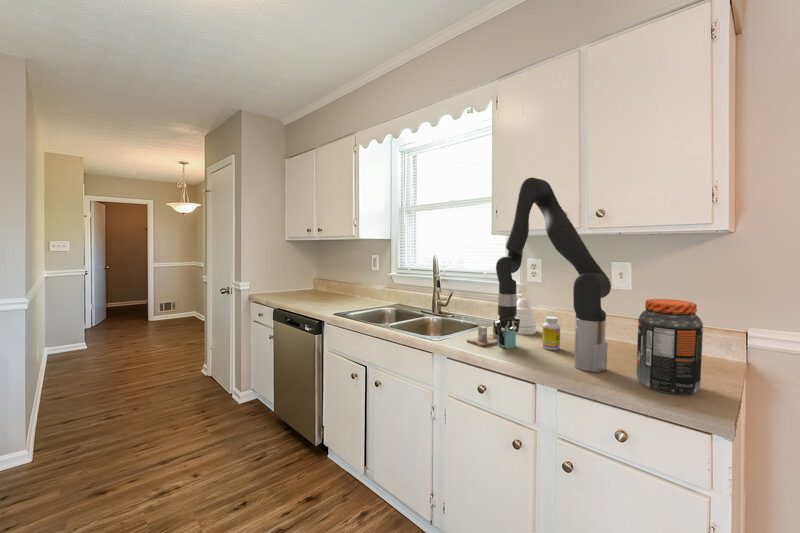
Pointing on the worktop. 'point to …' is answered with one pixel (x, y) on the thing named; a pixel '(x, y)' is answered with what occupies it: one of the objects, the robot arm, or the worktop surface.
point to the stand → (484, 338)
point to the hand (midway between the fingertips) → (506, 343)
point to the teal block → (509, 339)
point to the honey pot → (525, 317)
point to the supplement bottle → (551, 334)
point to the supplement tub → (670, 346)
